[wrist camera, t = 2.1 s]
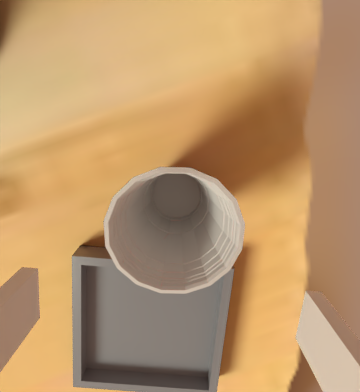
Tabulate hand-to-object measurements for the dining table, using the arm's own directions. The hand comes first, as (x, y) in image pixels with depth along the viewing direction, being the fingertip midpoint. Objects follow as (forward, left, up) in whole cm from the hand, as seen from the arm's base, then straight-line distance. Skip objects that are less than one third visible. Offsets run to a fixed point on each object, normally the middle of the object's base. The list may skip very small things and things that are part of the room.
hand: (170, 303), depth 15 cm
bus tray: (+16, -2, -20) cm, 26 cm away
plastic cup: (0, 0, -20) cm, 20 cm away
